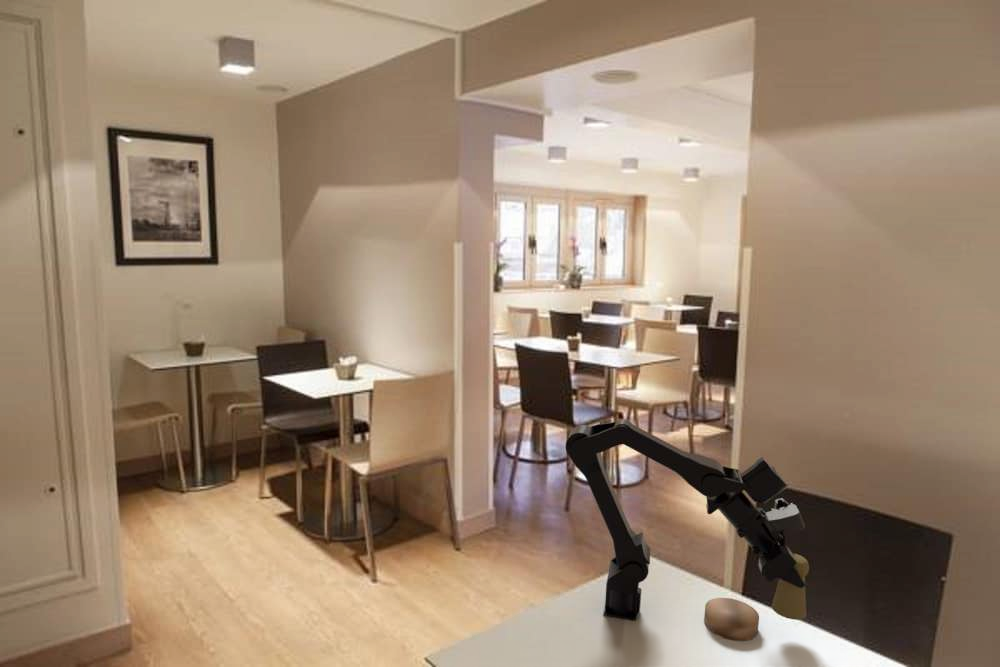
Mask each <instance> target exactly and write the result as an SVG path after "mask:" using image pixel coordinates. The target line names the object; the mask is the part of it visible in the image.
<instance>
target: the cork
mask: <svg viewBox="0 0 1000 667" xmlns="http://www.w3.org/2000/svg"><path fill="white" fill-rule="evenodd" d="M793 554H794V556H795V559H796V561H797V563H796V564H795V566H794V567H795V568H796V570H797V571H798V573H799V575H800V576H801V578H802V580H803V581H804V583H805V584H806V576H808V573H809V571H810V565H809V562H808V560H807V559H806V558H805V557H804V556H802V555H800V554H797V553H793ZM771 608H772V611H773V612H775V614H777V615H778V616H781V617H783V618H784V619H788V620H795V621H797V620H798V621H799V620H803V619H805V618H806V617H807V598H806V585H805V586H804V587H803V588H799V587H797V586H795V585H793V584H790V583H788V582H786V581H784V580H782V579H779V578H778V582H777V586H776V590H775V593H774V597H773V601H772V605H771Z"/></svg>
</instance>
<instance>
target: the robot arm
mask: <svg viewBox="0 0 1000 667" xmlns="http://www.w3.org/2000/svg"><path fill="white" fill-rule="evenodd" d="M621 445H623V446H626V447H628V448H630V449H631V450H633V451H635V452H637V453H639V454H640V455H642V456H644V457H646V458H648V459H650V460H652V461H654V462H656V463H657V464H660V465H662V466H663V467H666V468H667V469H669V470H671V471H673V472H675V474H677V475H678V476H679V477H681V478H682V479H683V480H684V481H685V482H686V483H687V484H688V485H689V486H691V487H692V488H693V489H694V490H696V491H697V492H698V493H700V494H701V495H703V496H704V497H705V498H706V505H705V506H706V513H707V514H708V515H712V514H713V513H715V512H716V511H717V510H718V511H719V512H720V513H721V514H722V516H724V518H725V519H726V520H727V521H728V522H729V524H731V526H733V528H734V529H735V530H736V534H737V536H738V537H739V539H742V538H743V539H744V540H745V542H746V543H747V544H748V545H749V546H750V549H751V551H752V553H753V555H755V556H757V555H758V554H761V555H762V556H760V557H759V558H758V564H757V565H758V569H759V571H760V574H761V575H762V576H763V577H764V578H765V580H766V581H767V582H772V581H774V580H775V579H778V580H779V579H782V580H784V581H786V582H788V583H790V584H793V585H795V586H797V587H799V588H803V587H804V586H805V587H806V582H805V583H804V581H803V580H802V578H801V576H800V575H799V573H798V571H797V570H796V568H795V567H794V566H795V564H796V563H797V561H796V559H795V556H794V554H795V553H794V551H793V549H791V550H790V548H789V547H788V545H786V534H787V533H791V532H794V531H797V532H800V531H802V530H804V529H805V528H806V526H805V523H804V519H803V517H802V514H801V512H800V510H799V508H798V506H797V505H796V504H793V502H791V503H789V502H788V501H786V500H785V499H784V498H783V497H782V498H777V499H774V507H772V508H771V511H765V510H764V509H763V508H762V507H759V506H756V505H755V504H754V503H759V504H762V503H763V504H766V503H767V502H769V501H770V500H772V499H773V498H774V497H776V496H777V495H778V494H780V493H781V492H783V491H784V490H786V489H787V488H788V487H789V486H790V485H789V483H788V482H787V481H786V480H785V478H784V477H783V475H782V474H781V473H780V471H778V470H777V468H776V467H775V466H772V465H771V464H770V462H768V461H767V460H766V459H765V458H764V457H763V456H762V457H760V458H759V459H757V460H756V461H755V462H754V463H753V464H752V465H751V466H749V467H748V468H746V469H745V470H744V471H742V472H741V471H740V470H739V469H736V468H734V467H728V466H725V465H722V464H721V463H720V462H719V461H718V460H716V459H713V458H710V457H707V456H705V455H701V454H698V453H691V452H689V451H688V452H687V451H684V450H682V449H680V448H679V447H677V446H675V445H673V444H671V443H670V442H668V441H665V440H663V439H661V438H660V437H657V436H656V435H654V434H652V433H649V431H646V430H644V429H642V428H640V427H639V426H638V425H637V426H636V425H635V424H633V423H632V422H631V421H629V420H627V419H626V418H625V419H624V418H623V419H619V420H616V421H612V422H611V421H610V422H603V423H597V424H593V425H590V426H589V425H587V424H580V425H576V426H575V427H573V429H572V430H571V431H570V433H569V435H568V437H567V439H566V442H565V451H566V454H567V455H568V457H569V458H570V460H571V461H572V463H573V465H574V466H575V467H576V468H577V470H579V472H581V474H582V475H583V476H584V478H585V479H586V481H587V483H588V486H589V489H590V490H591V493H592V495H593V496H592V497H593V498H594V500H595V502H596V504H597V507H598V509H599V511H600V512H599V513H600V514H601V516H602V518H603V520H604V523H605V526H606V527H607V530H608V532H609V534H610V537H611V539H612V543H613V549H614V556H615V557H613V558H612V559H610V561H609V567H608V572H607V573H608V575H607V579H606V584H605V586H606V587H605V598H604V599H605V601H604V608H603V615H604V616H609V617H614V618H621V619H626V620H629V621H630V620H631V621H636V620H637V616H638V614H639V613H640V611H641V603H642V602H641V601H642V588H641V587H639V586H640V583H642V582H644V581H645V580H646V579H647V578H648V575H649V569H650V568H649V566H650V564H651V547H650V546H648V544H647V542H646V539H645V535H644V532H640V533H638V534H637V533H636V532H635V531H634V530H633V528H631V526H630V523H629V522H628V519H627V517H626V515H625V512H624V510H623V508H622V506H621V503H620V501H619V498H618V497H617V493H616V492H615V490H614V487H613V484H612V483H611V480H610V477H609V476H608V473H607V471H606V469H605V467H604V466H605V465H604V461H603V457H602V453H603V452H605V451H608V450H610V449H612V448H614V447H616V446H621ZM744 491H745V493H746V494H747V495H748V496H749V497H748V496H747V495H746V494H745V493H744ZM750 498H751V499H750ZM752 501H753V502H752Z"/></svg>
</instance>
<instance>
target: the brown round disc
mask: <svg viewBox="0 0 1000 667" xmlns="http://www.w3.org/2000/svg"><path fill="white" fill-rule="evenodd" d="M704 606H705V607H704V618H703V622H704V625H705V627H706V628H707V629H708V630H709V632H712V633H713V634H715V635H716V636H718V637H719V638H720V637H721V638H724V639H726V640H729V641H735V642H747V641H750V640H753V639H755V638H756V637H757V635H758V633H759V624H760V614H759V612H758V611H757V610H756V609H755V608H754V607H753V606H751V605H749V604H748V603H746V602H744V601H741V600H739V599H734V598H731V597H715V598H711V599H710V600H708V601H707V602H706V603H705V605H704Z"/></svg>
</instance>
